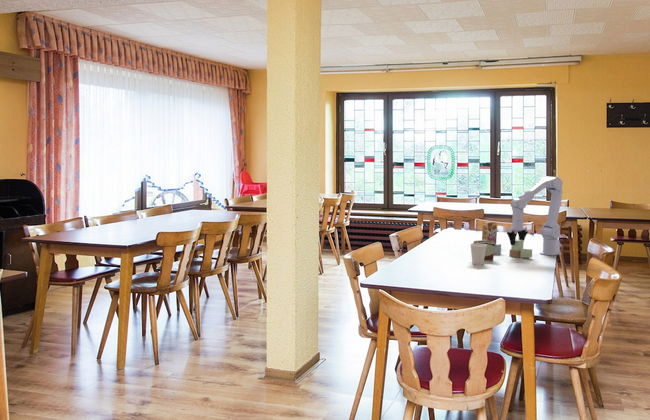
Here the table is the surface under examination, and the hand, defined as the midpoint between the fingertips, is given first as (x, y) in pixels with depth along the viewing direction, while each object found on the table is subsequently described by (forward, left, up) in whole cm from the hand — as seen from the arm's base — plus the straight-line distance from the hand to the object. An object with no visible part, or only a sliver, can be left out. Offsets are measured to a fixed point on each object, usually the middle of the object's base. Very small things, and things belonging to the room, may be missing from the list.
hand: (516, 244), depth 351 cm
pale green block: (+1, +7, -7) cm, 10 cm away
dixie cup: (+36, +3, -7) cm, 37 cm away
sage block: (0, 0, -3) cm, 3 cm away
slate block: (+2, -13, -7) cm, 15 cm away
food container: (+23, -3, -7) cm, 24 cm away
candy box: (-16, -32, -7) cm, 36 cm away
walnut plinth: (0, 0, -7) cm, 7 cm away
